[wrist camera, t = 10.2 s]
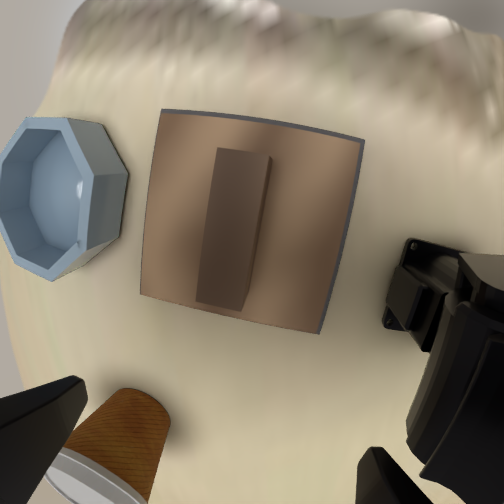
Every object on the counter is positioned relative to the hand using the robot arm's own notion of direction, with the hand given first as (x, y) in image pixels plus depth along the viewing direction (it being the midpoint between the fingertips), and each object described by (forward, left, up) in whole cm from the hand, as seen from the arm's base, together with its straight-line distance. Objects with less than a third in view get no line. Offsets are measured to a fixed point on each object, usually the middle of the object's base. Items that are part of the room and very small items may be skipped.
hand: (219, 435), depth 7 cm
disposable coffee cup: (+9, +16, -13) cm, 23 cm away
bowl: (+16, -4, -13) cm, 21 cm away
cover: (+2, -4, -12) cm, 13 cm away
